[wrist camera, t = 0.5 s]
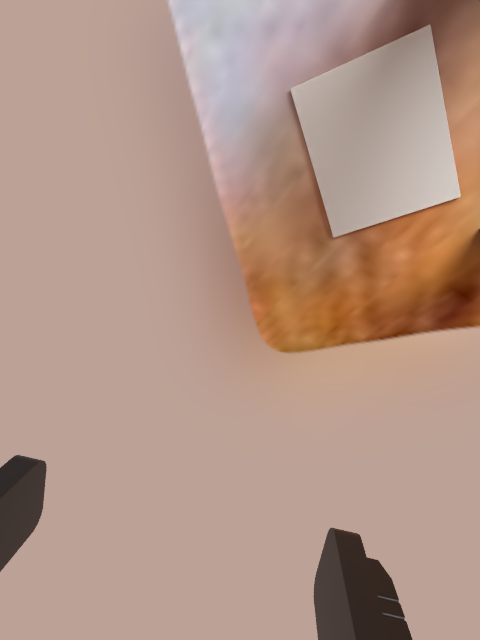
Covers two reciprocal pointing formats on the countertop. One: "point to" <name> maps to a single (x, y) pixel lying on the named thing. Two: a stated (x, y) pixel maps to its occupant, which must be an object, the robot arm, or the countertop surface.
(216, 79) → the countertop surface
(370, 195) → the grey mat
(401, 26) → the countertop surface
